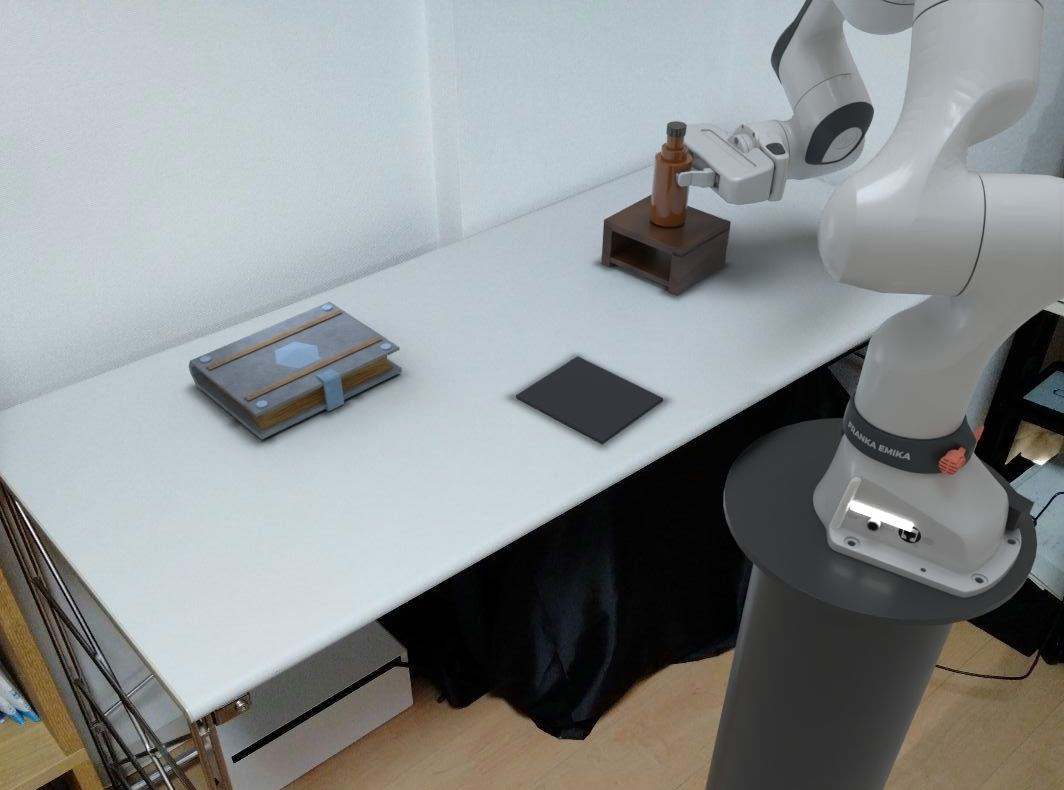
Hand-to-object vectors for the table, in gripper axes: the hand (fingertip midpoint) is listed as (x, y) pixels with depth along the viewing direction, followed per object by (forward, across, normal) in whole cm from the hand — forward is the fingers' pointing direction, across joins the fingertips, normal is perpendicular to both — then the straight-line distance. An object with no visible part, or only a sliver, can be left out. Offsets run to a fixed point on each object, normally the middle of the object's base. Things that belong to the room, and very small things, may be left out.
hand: (667, 169), depth 145 cm
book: (+56, +12, +15) cm, 59 cm away
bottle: (-1, 0, +7) cm, 7 cm away
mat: (+23, +28, +15) cm, 39 cm away
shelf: (-1, 0, +15) cm, 15 cm away
